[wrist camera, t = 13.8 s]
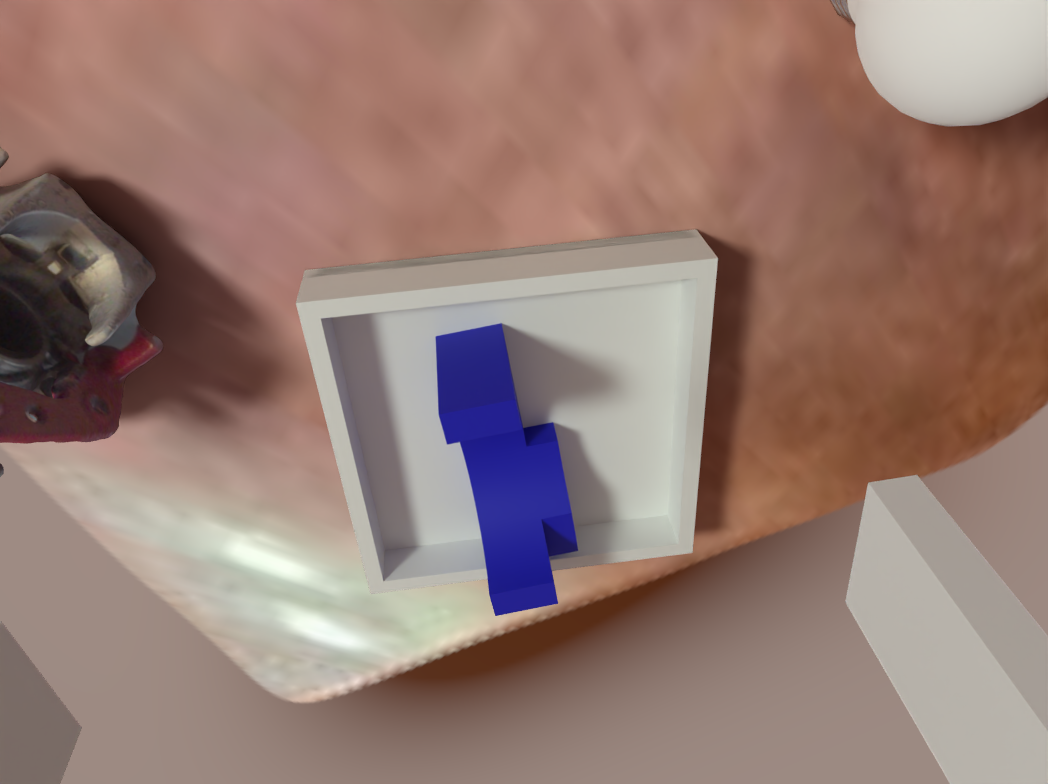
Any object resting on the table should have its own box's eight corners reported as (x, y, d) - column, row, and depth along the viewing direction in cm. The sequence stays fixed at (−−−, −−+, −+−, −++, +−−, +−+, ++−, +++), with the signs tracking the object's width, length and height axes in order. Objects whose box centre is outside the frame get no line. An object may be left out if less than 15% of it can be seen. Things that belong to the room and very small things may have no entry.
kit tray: (696, 229, 34) (718, 258, 32) (677, 513, 44) (692, 552, 41) (304, 270, 33) (295, 303, 31) (373, 551, 43) (370, 594, 40)
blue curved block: (568, 509, 42) (589, 597, 37) (486, 526, 42) (495, 615, 37) (534, 316, 35) (553, 391, 30) (435, 336, 35) (438, 414, 30)
